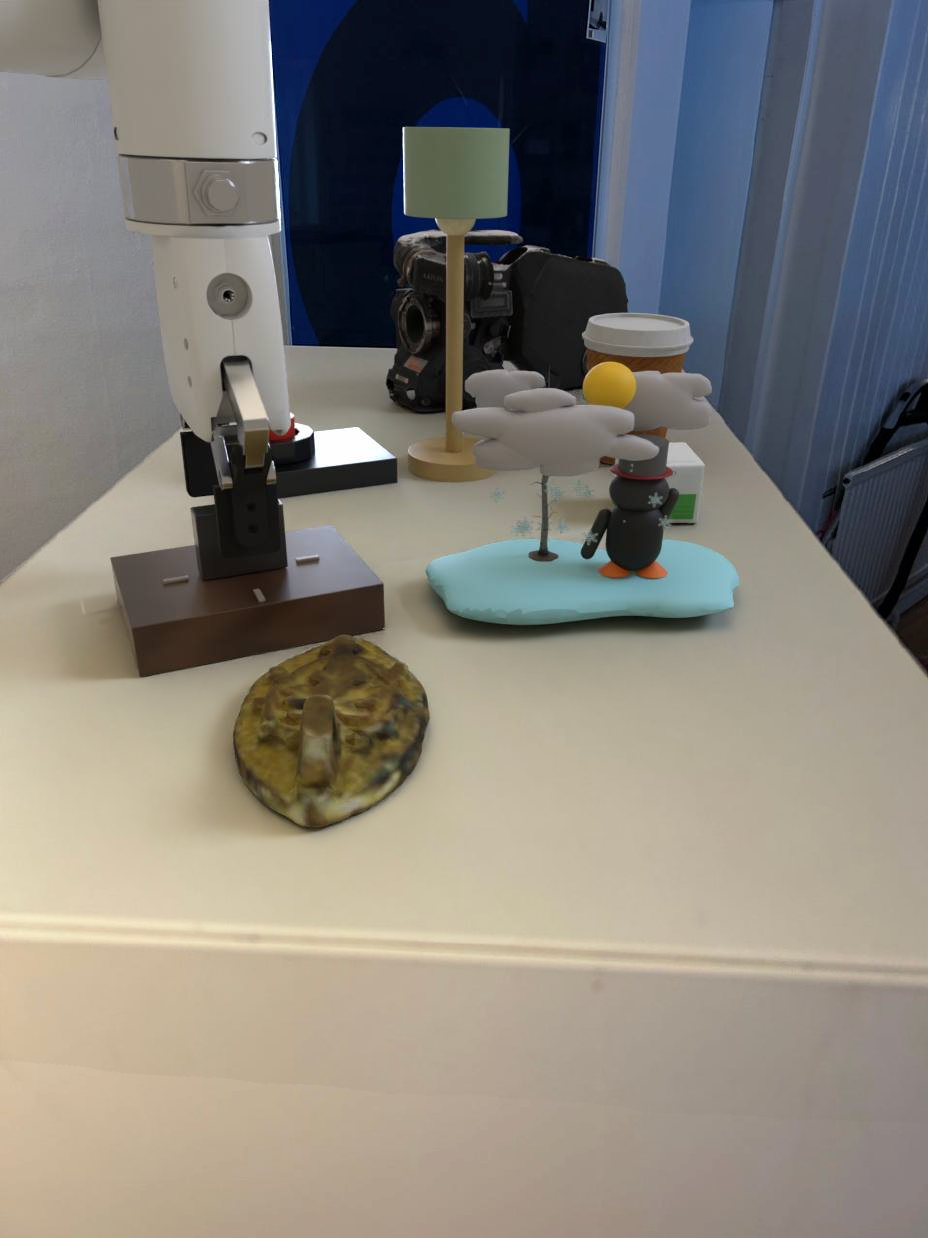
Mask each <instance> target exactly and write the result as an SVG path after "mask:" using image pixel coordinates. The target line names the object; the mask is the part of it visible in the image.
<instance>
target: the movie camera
mask: <svg viewBox="0 0 928 1238" xmlns="http://www.w3.org/2000/svg"><path fill="white" fill-rule="evenodd" d="M523 242H524V239H523V237H522V236H520V235H519V234H518V233H516V232H513V231H509V230H501V229H471V230H470V231H469V232H468V233H467V234H465V235H464V246H465V245H467V246H487V247H488V246H489V247H491V246H495V247H497V246H509V245H519V244H523ZM446 251H447V235H446V234H445V233H443V232H442V231H441V230H440V228H437V229H429V230H423V231H418V232H415V233H410V234H409V233H408V234H404V235H402V236H400V237H399V238H398V239H397V241H396V243H395V245H394V249H393V259H392V260H393V261H392V262H393V267H394V268H395V269H396V271H397V273H398V274H399V276H400V278H398V279H397V281H396V283H397V285H398V287H400V288H398V289H395V296H394V298H392V300H391V303H390V310H389V311H390V317H391V318H392V320H393V322H394V325H395V328H396V329H395V330H396V331H395V332H396V346H395V347H396V352H395V354H394V356H393V365H392V367H391V368H388V371H387V375H386V377H385V378H386V379H385V385H386V389H387V390H388V398H389V399H391V401H392V402H394V403H398V405H401V406H406V407H408V408H410V409H412V410H413V411H415V412H416V411H418V412H422V413H423V412H425V413H426V412H439V411H440V412H441V411H446ZM405 286H408V288H403V287H405ZM626 287H627V285H626V282H625V279H624V276H623V274H622V273H621V271H620V270H619V269H618V268H617V267H616V266H612V265H611V264H610V263H608V262H607V261H606V260H604V259H602V258H597V257H593V256H592V257H583V256H580V255H576V256H575V257H570V256H566V255H563V254H560V253H552V251H551V250H550V249H549V248H546V247H542V246H541V247H540V246H537V245H531V244H527V245H524V246H516V247H514V248H512V249H510V250H508V251H507V252H505V253H504V254H503V255H502V256H501V257H500V258H499V259H497V260H491V257H490V256H489V254H488V252H486V251H480V252H465V251H464V304H463V383H462V409H463V408H471V407H473V406H475V407H477V404H476V397H474V398H473V397H472V396H471V394H470V393H468V392H466V391H465V380H467V379H468V378H469V377H470V376H471V375H473V374H475V373H480V372H483V371H490V370H498V369H500V370H505V367H504V362H508V363H510V364H511V365H513V366H514V368H515V369H516V371H534V372H537V373H539V374H541V375H542V376H543V377H544V380H547V381H548V380H549V384H550V388H556V387H557V389H559V390H566V389H571V388H578V387H582V388H583V382H584V379H585V377H586V375H587V373H588V366H587V347H586V346H585V344H584V339H583V337H582V333H583V332H585V331H586V327H587V324H588V321H589V318H591V317H593V316H596V315H602V314H611V313H629V310H628V303H629V299H628V295H627V288H626ZM549 369H550V371H549ZM544 370H545V371H544ZM545 372H546V374H545ZM549 375H550V377H549ZM561 378H562V379H561ZM547 381H545V383H546V387H547V388H549V385H548V382H547ZM559 382H560V383H559ZM558 384H559V385H558ZM557 385H558V386H557ZM546 387H545V386H544V387H543V388H546ZM410 391H414V398H413V399H412V400H411V399H410V397H409V396H408V392H410Z"/></svg>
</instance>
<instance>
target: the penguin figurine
mask: <svg viewBox="0 0 928 1238" xmlns="http://www.w3.org/2000/svg"><path fill="white" fill-rule="evenodd" d="M544 371H545V370H544ZM549 371H550V369H549ZM545 374H546V372H545ZM660 374H661V373H660V372H659V371H643V372H631V371H630V369H629V368H627V367H626V366H624V365H623V364H620V363H617V362H604V363H601V364H598V365H596V366H595V367H593V368H592V369H591V370H590V371H589V372H588V373H587V375H586V377H585V379H584V382H583V386H582V393H583V396H584V398H585V400H586V402H587V403H588V404H577V397H576V396H575V395H574V394H571V393H570V392H567V391H565V390H564V389H557V387H556V388H550V384H549V380H548V381H547V380H544V377H543V376H542V375H541V374H539V373H537V372H534V371H518V370H511V371H509V370H508V369H504V370H500V369H498V370H490V371H483V372H480V373H475V374H473V375H471V376H470V377H469V378H468V379H467V380H465V391H466V392H468V393H470V394H471V396H472V397H473V398H474V397H476V404H477V406H476V408H470V409H464V410H462V411H457V412H454V413H453V414H452V423H453V425H454V427H455V428H456V429H457V430H459V431H462V433H464V434H469V435H473V436H478V437H483V438H484V439H480V440H481V441H479V442H477V443H476V444H474V445H473V447H472V454H473V455H474V456H475V464H476V466H478V467H480V468H483V469H487V470H493V471H498V472H520V471H527V470H533V469H535V468H537V467H539V473H540V474H541V481H540V482H539V481H538V480H537V481H536V482H533V484H540V485H541V516H540V515H538V516H537V515H532V514H531V516H532V517H531V519H533V518H538V517H539V518H541V522H540V521H539V522H538V525H539V527H537V529H536V531H540V537H539V538H524V537H525V536H526V534H527V533H528V534H529V535H530V534H533V533H532V531H533V530H534V529H533V526H532V524H533V523H534V520H529V521H528V517H527V516H524V517H523V520H521V519H519V520H518V521H517V522H516V524H515V525H514V524H510V527H511V528H512V530H510V534H512V533H514V535H515V537H518V536H519V534H520V533H521V536H522V538H517V539H515V538H514V539H508V540H507V539H506V540H502V541H501V540H500V541H496V542H492V543H487V544H484V545H481V546H477V547H474V548H471V549H469V550H465V551H461V552H457V553H456V552H455V553H452V554H447V555H444V556H440V557H437V558H436V559H434V560H431V562H430V563H429V564H428V565H427V566H426V567H425V570H424V572H425V576H426V578H427V581H428V584H429V586H430V588H431V589H432V590H433V591H434V592H435V593H436V595H438V596H439V598H440V599H441V600H443V603H444V605H445V607H446V609H447V610H448V611H449V612H450V613H452V614H454V615H456V616H458V617H461V618H464V619H469V620H473V621H479V622H483V623H492V624H501V625H510V626H511V625H512V626H535V625H537V626H538V625H540V626H541V625H551V624H560V623H570V622H577V621H584V620H585V621H586V620H593V619H594V620H595V619H601V618H610V617H625V616H626V617H628V616H631V617H633V616H635V617H636V616H638V617H652V618H664V619H665V618H668V619H681V618H682V619H684V618H695V617H702V616H708V615H712V614H717V613H721V612H726V611H728V610H730V609H732V608H734V607H735V601H734V592H735V590H737V588H738V587H739V586H740V584H741V583H740V576H739V574H738V571H737V570H736V568H735V566H734V565H733V563H732V562H731V561H730V560H729V559H728V558H726V557H725V556H723V555H722V554H721V553H720V552H717V551H715V550H713V549H711V548H709V547H706V546H703V545H700V544H697V543H693V542H690V541H684V540H678V539H667V538H664V531H665V530H666V527H667V526H668V527H670V528H671V527H672V524H670V523H669V522H670V520H669V519H668V518H669V516H670V514H671V512H672V510H673V508H674V507H675V505H676V503H677V501H678V499H679V492H678V490H677V489H675V488H670V489H669V485H668V483H667V481H666V479H665V478H667V477H669V476H671V475H672V474H673V470H672V469H670V468H669V467H667V466H666V464H667V456H668V447H669V443H670V441H669V440H668V439H667V438H666V437H665V438H663V437H659V436H655V435H648V434H632V435H626V433H628V432H631V431H642V430H651V429H655V428H658V427H660V426H662V427H666V428H668V429H669V430H674V431H675V430H676V431H679V430H680V431H691V430H701V429H703V428H706V427H707V426H708V425H709V424H710V422H711V420H712V419H711V418H712V408H711V406H710V404H709V403H707V402H706V401H705V400H702V399H697V398H702V397H704V396H709V395H711V394H712V390H713V388H712V385H711V381H710V380H709V379H708V377H706V376H704V375H702V374H701V373H689V372H681V373H664V374H661V375H660ZM549 377H550V375H549ZM561 379H562V378H561ZM545 381H547V382H548V385H549V388H547V387H546V383H545ZM559 383H560V382H559ZM558 385H559V384H558ZM558 385H557V386H558ZM544 386H545V387H546V388H545V387H544ZM589 404H590V405H589ZM603 456H607V457H611V458H617V459H619V462H618V464H615V465H611V466H610V467H609V471H610V473H611V474H613V475H614V474H615V475H616V476H615V477H614V476H613V479H611V482H610V484H609V486H608V487H609V488H608V494H609V498H610V500H611V501H612V503H613V504H614V505H615V507H614V508H613V509H612V510H610V509H609V508H608V507H607V508H605V507H604V508H601V509H600V510H599V512H598V513H597V515H596V517H595V520H594V521H593V523H592V526H591V528H590V529H589V530H588V532H587V533H586V532H582V536H584V537H583V538H582V539H581V542H576V541H571V540H565V539H557V538H556V539H555V538H548V537H549V536H548V534H549V532H550V531H552V529H551V527H550V526H552V524H553V522H549V519H550V518H551V516H552V515H553V514H554V513H555V514H557V511H556V512H555V511H554V509H553V508H552V507H553V506H551V510H550V512H549V507H548V506H549V503H548V492H549V496H550V498H554V499H553V500H552V501H551V503H554V501H555V503H557V502H559V499H560V498H561V500H566V496H564V494H565V493H566V492H567V490H563V491H561V484H562V483H557V484H555V480H554V479H552V480H551V482H550V483H548V481H549V478H550V477H567V478H568V477H578V476H582V475H585V474H588V473H590V472H593V471H595V470H596V469H598V468H599V467H600V462H601V461H600V458H601V457H603ZM570 484H571V487H573V489H572V490H570V493H572V494H574V493H575V494H576V497H582V498H583V497H584V498H585V499H584V500H585V501H587V500H588V498H589V497H591V498H594V495H593V493H594V492H595V489H590V487H589V484H587V483H585V485H583V484H582V480H581V479H579V480H578V481H577V484H575V483H570ZM529 485H530V486H531V484H529ZM489 491H490V493H491V496H490V497H489V499H490V500H492V499H493V500H494V502H495V504H498V502H499V499H501V500H502V501H504V499H505V497H504V496H503V495H504V494H505V492H506V491H504V490H502V491H500V488H499V487H498V486H497V487H496V488H495V492H494V491H492V490H489ZM581 493H582V494H581ZM579 494H580V495H579ZM537 496H538V497H540V495H539V494H537ZM551 512H552V513H551ZM667 520H669V522H668V521H667ZM671 521H672V520H671ZM667 522H668V523H667ZM555 525H556V526H557V527H556V528H555V529H554V530H555V531H560V532H559V533H560V534H561V535H562V534H564V531H565V530H566V531H567V532H568V531H570V529H569V528H568V526H571V522H565V519H561V522H559V521H557V522H556V521H555ZM604 535H605V549H601V548H599V546H600V544H601V542H602V540H603V538H604ZM582 542H583V543H582Z"/></svg>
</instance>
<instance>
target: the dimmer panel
mask: <svg viewBox="0 0 928 1238" xmlns="http://www.w3.org/2000/svg"><path fill="white" fill-rule="evenodd" d="M285 537H286V549H287V561H288V567H285V568H279V569H273V570H267V571H260V572H254V573H248V574H242V575H236V576H230V577H224V578H217V579H211V580H205V581H204V580H203V579H202V577H201V575H200V573H199V571H198V565H197V557H196V549H195V544H193V545H185V546H179V547H171V548H165V549H158V550H152V551H144V552H138V553H130V554H123V555H118V556H111V557H110V558H109V559H110V565H111V571H112V577H113V581H114V587H115V593H116V598H117V603H118V607H119V610H120V614H121V617H122V620H123V624H124V628H125V631H126V634H127V639H128V641H129V645H130V648H131V652H132V655H133V658H134V659H133V660H134V662H135V666H136V669H137V673H138V676H139V678H142V677H147V676H153V675H158V674H164V673H168V672H173V671H177V670H183V669H188V668H193V667H199V666H204V665H208V664H213V663H218V662H223V661H228V660H234V659H239V658H244V657H249V656H254V655H260V654H264V653H270V652H275V651H279V650H285V649H290V648H295V647H300V646H305V645H310V644H315V643H316V644H317V643H321V642H327V641H330V640H332V639H334V638H335V637H337V636H339V635H350V636H356V635H361V634H362V635H363V634H367V633H371V632H370V631H372V632H376V631H375V630H377V631H380V630H379V629H382V630H384V629H383V628H385V629H386V620H385V619H386V618H385V617H386V616H385V614H386V613H385V586H384V585H385V584H384V582H382V580H381V579H380V578H379V577H378V576H377V574H376V573H375V571H373V570H372V569H371V567H370V566H369V565H368V564H367V563H366V562H365V561H364V560H363V559H362V557H361V556H360V555H359V554H358V553H357V552H356V550H355V549H354V548H353V547H352V546H351V545H350V544H349V543H348V542H347V540H346V539H345V538H344V537H343V536H342V535H341V533H340V532H339V531H338V529H336V528H335V526H333V524H326V525H320V526H313V527H312V526H311V527H305V528H299V529H292V530H287V531H286V530H285Z"/></svg>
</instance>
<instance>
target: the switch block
mask: <svg viewBox="0 0 928 1238" xmlns="http://www.w3.org/2000/svg"><path fill="white" fill-rule="evenodd" d="M295 434H296V436H294V437H291V438H287V439H279V440H269V444H270V448H272V453H273V454H274V460H273V462H274V466H275V471H276V481H277V493H278V499H279V500H280V499H286V498H287V499H288V498H295V497H302V496H310V495H317V494H324V493H325V494H326V493H332V492H339V491H346V490H347V491H348V490H353V489H361V488H370V487H376V486H383V485H392V484H397V483H398V458H397V457H396V456H395V455H393V454H392V453H391V452H390V451H389V450H387V449H386V448H384V446H382V445H381V444H380V443H378V442H377V441H376V440H375V439H373V438H372V437H371V435H369V434H367V433H366V432H365V431H364V430H362V429H361V428H360V427H358V426H356V427H346V428H337V429H329V430H319V431H315V430H314V429H312V428H311V427H310V425H307V424H301V423H297V422H295ZM237 445H240V444H237Z"/></svg>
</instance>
